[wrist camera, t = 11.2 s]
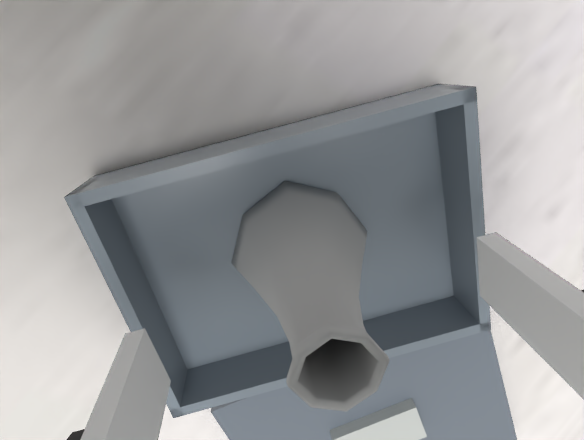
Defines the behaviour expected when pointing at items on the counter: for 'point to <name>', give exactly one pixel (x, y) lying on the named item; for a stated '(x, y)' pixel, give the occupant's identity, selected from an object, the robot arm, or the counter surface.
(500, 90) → the counter surface
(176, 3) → the counter surface
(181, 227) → the bin
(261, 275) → the flask
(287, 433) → the bin lid
